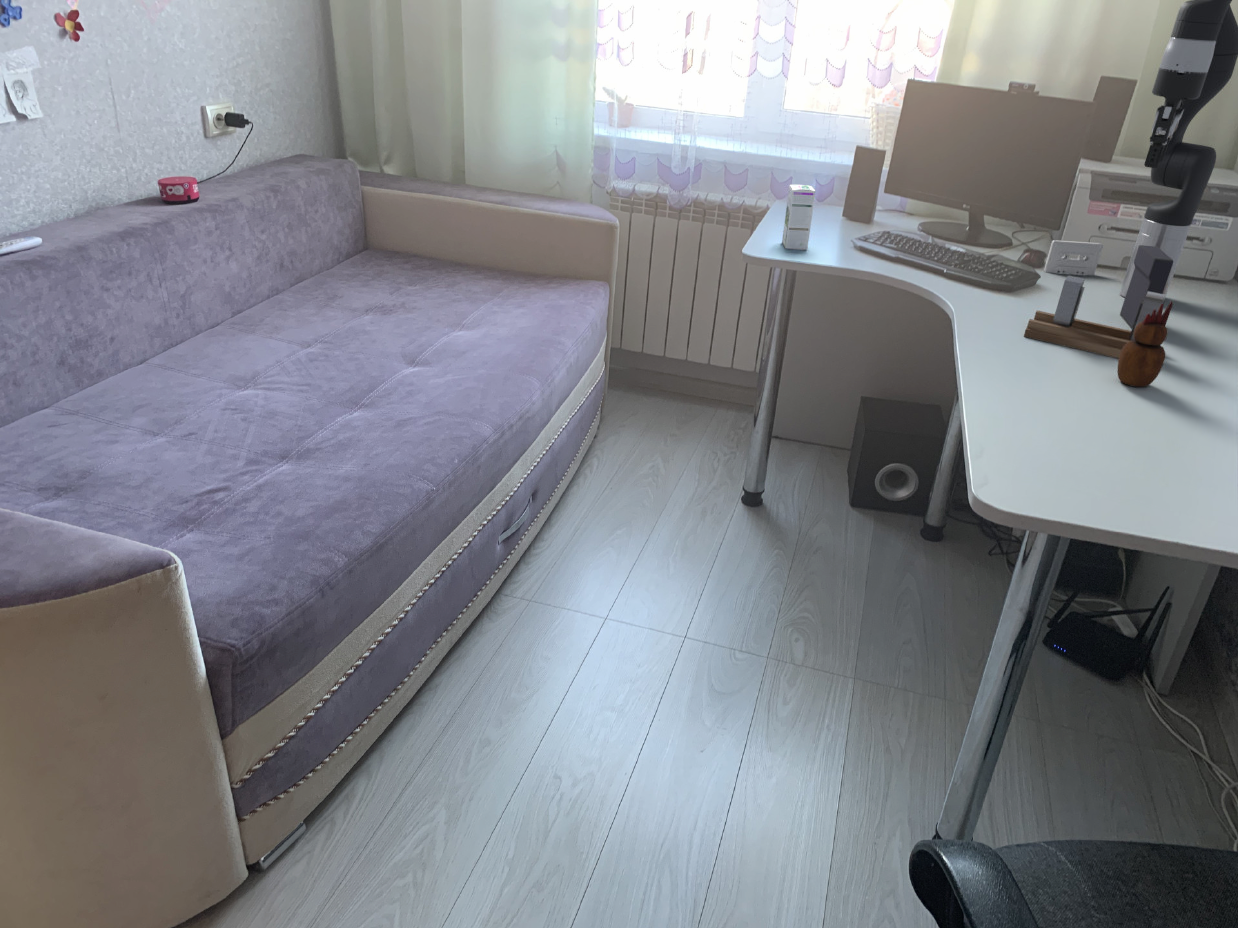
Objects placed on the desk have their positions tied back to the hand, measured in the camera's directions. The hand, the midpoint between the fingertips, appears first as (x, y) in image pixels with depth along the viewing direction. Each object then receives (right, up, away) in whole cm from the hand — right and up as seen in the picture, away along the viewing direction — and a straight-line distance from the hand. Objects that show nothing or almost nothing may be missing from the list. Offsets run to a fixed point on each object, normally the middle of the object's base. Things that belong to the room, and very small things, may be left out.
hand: (1153, 164), depth 170 cm
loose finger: (-11, -28, +13) cm, 33 cm away
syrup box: (-54, -1, +62) cm, 82 cm away
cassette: (+11, -9, +56) cm, 58 cm away
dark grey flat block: (+10, -26, +24) cm, 36 cm away
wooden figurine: (-7, -41, -6) cm, 41 cm away
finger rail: (-6, -31, +11) cm, 34 cm away
